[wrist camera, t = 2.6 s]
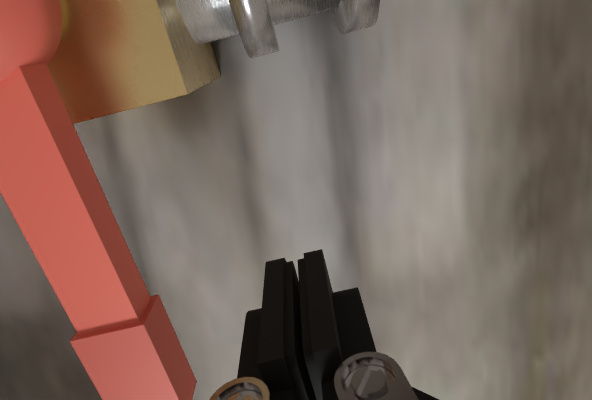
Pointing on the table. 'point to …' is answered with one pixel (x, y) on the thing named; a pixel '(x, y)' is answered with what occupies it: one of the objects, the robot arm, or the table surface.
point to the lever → (77, 222)
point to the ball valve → (167, 45)
